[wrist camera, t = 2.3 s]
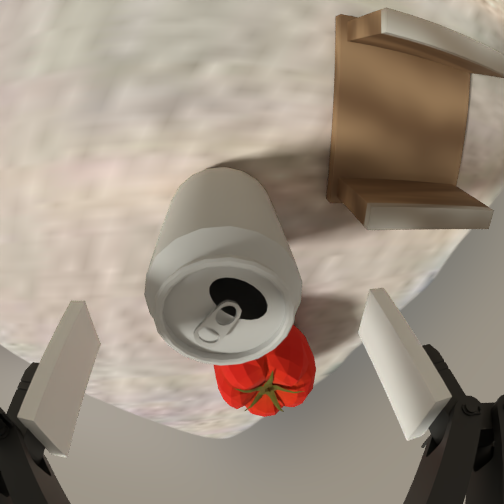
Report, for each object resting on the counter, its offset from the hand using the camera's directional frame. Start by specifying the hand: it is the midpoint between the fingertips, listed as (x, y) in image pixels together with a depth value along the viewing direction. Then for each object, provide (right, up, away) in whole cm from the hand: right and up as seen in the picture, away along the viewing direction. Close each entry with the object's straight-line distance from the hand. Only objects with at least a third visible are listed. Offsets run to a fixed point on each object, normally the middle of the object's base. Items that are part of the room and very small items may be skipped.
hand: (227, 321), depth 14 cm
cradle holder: (+13, +14, +7) cm, 20 cm away
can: (-1, +6, +10) cm, 12 cm away
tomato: (+2, -5, +17) cm, 18 cm away
